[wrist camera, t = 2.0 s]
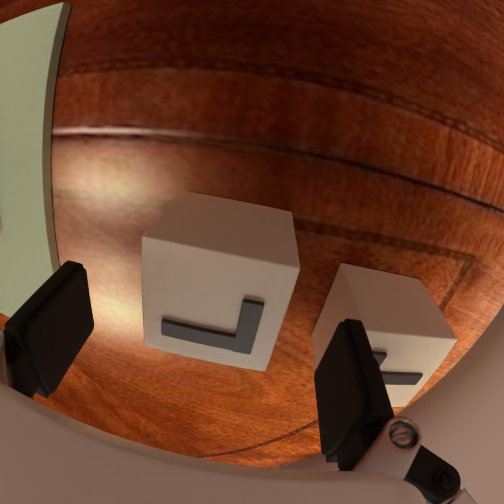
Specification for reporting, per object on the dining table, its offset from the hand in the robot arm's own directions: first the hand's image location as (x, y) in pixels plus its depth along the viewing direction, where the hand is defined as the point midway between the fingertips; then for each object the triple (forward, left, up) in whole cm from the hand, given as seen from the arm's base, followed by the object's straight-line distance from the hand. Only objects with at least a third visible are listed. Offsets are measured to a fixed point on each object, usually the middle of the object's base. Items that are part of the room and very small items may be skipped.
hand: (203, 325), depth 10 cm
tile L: (0, 0, -5) cm, 5 cm away
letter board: (-1, -21, -5) cm, 21 cm away
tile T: (+2, +8, -5) cm, 10 cm away
